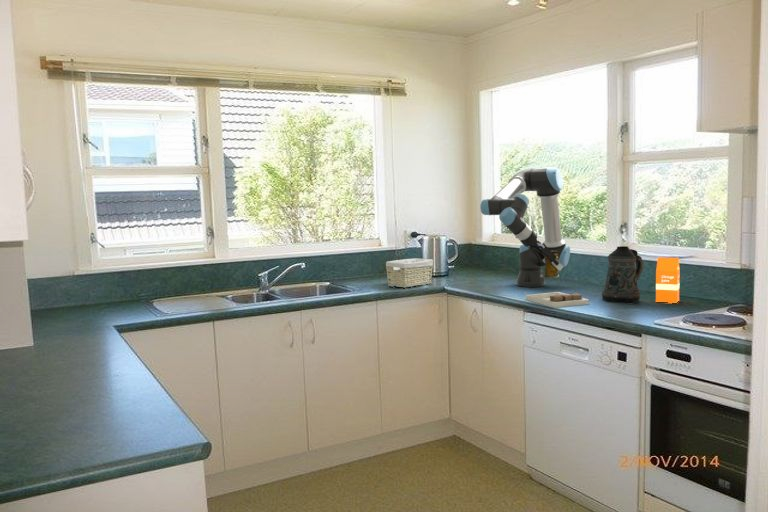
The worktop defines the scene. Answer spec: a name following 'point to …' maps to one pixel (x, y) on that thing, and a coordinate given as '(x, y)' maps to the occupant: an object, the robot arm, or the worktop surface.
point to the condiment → (550, 267)
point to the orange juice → (667, 280)
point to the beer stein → (623, 276)
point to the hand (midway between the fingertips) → (557, 268)
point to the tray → (545, 300)
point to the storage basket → (409, 272)
